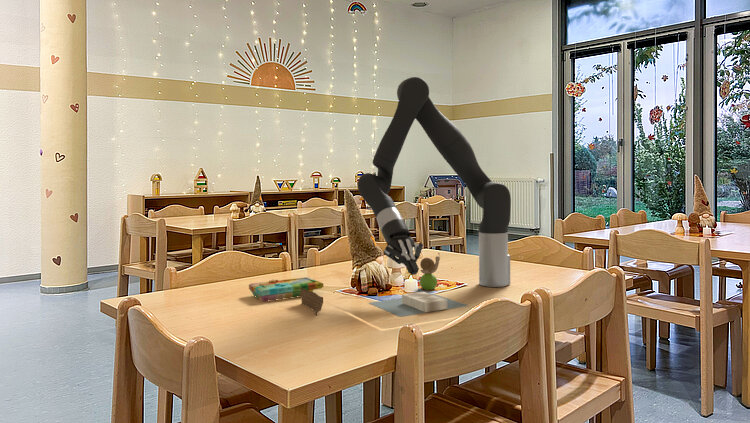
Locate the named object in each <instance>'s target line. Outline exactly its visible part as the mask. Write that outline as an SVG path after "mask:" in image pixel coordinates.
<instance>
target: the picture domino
mask: <svg viewBox="0 0 750 423" xmlns="http://www.w3.org/2000/svg"><path fill="white" fill-rule="evenodd" d="M432 294H433V293H428V292H425V291H417V292H412V293H411V292H410V293H403V294H401V298H402V303H403V304H405V305H408V306H410V307H413V308H415V309H418V310H421V311H423V312H428V313H432V312H431V311H434V312H438V311H437V310H440V311H444V310H443V309H446V310H448V309H447V299H444V298H441V297H438V296H435V295H432Z"/></svg>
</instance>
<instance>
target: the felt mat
mask: <svg viewBox="0 0 750 423" xmlns="http://www.w3.org/2000/svg"><path fill="white" fill-rule="evenodd" d="M431 294H432V295H435V296H438V297H441V298H444V299H447V309H443V310H442V311H444V310H445V311H446V310H451V309H457V308H464V307H469V306H470V305H468V304H466V303H463V302H459V301H458V300H457V301H456V300H453V299H450V298H448V297H444V296H441V295H438V294H435V293H431ZM368 304H369V305H371V306H374V307H377V308H378V309H381V310H383V311H386V312H387V313H390V314H393V315H395V316H397V317H399V318H401V317H409V316H415V315H420V314H421V315H422V314H427V313H429V312H423V311H421V310H418V309H415V308H413V307H410V306H408V305H405V304H403V303H402V297H400V298H394V299H387V300H379V301H372V302H368ZM440 311H441V310H437V311H436V312H440ZM432 312H435V311H431V312H430V313H432Z"/></svg>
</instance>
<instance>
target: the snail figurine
mask: <svg viewBox="0 0 750 423" xmlns="http://www.w3.org/2000/svg"><path fill="white" fill-rule="evenodd" d="M437 255H438V256H435V262H434V260H433V259H432V258H430V257H424V258H422V259H421V261H420V263H419V265H420V266H419V267H420V268H421V269H420V272H421V273H422V274H423V275H421V277H420V278H419V285H420V287H421V289H423V291H424V290H425V291H432V290H434V289H435V288H437V285H438V279H437V277H436V276H435V274H434V273H435V272H436V271H437V270H438V268H439V264H440V259H441V257H440V252H438V253H437Z"/></svg>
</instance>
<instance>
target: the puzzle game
mask: <svg viewBox="0 0 750 423" xmlns="http://www.w3.org/2000/svg"><path fill="white" fill-rule="evenodd" d="M300 288H302V289H306V290H309V291H311V292H314V290H315V291H316V290H319V289H322V288H324V283H323V282H321V281H319V280H316V279H314V278H311V277H296V278H289V279H271V280H268V281H262V282H253V283H250V284H248V289H249V290H250V292H251V293H252V294H253V296H254V297H255V296H256V297H258V298H260V299H261V300H260V299H259V300H260V301H262V300H263V301H267V302H269V301H268V300H274V301H277V300H276V299H281V300H284V299H283V298H288V299H292V298H291V297H295V298H298V297H297V296H301V289H300ZM256 297H255V298H256ZM258 298H257V299H258ZM263 301H262V302H263Z"/></svg>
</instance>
